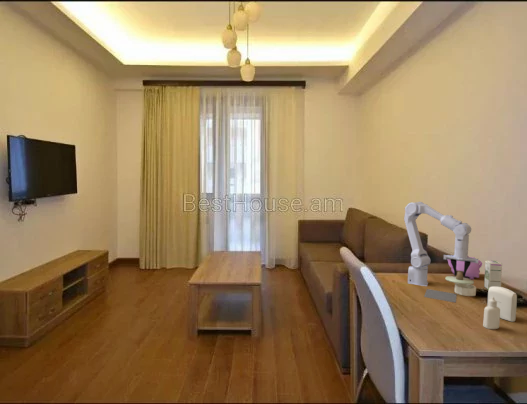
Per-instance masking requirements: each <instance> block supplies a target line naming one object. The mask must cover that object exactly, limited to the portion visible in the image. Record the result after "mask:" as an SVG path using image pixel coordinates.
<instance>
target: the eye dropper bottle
mask: <svg viewBox="0 0 527 404" xmlns="http://www.w3.org/2000/svg"><path fill="white" fill-rule="evenodd" d="M496 305H497V301H496V300H495V299H494V297H492V299H490V300H489V306H487V305H486V306H485V307H484V309H483V310H484V311H483V322H482V327H484V328H485V329H488V330H496V329H497V330H498V329H499V328H500V320H501V318H500V308H498V307H496Z"/></svg>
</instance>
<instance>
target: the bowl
mask: <svg viewBox="0 0 527 404" xmlns="http://www.w3.org/2000/svg"><path fill="white" fill-rule="evenodd" d="M454 294H457V295H459V296H465V297H466V296H467V297H475V296H476V294H477V286H475V285H474V284H459V283H454Z"/></svg>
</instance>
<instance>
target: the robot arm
mask: <svg viewBox="0 0 527 404" xmlns="http://www.w3.org/2000/svg"><path fill="white" fill-rule="evenodd" d="M404 211H405V212H404V217H403V219H404V223H405V224H404V225H405V227H406V232H407V235H408V239H409V243H410V247H411V249H412V251H411V253H410V264H411V265H410V266H408V271H407V284H410V285H416V286H421V287H428V284H429V281H428V274H429V273H428V272H429V271H428V269H429V265H430V264H431V258H430V256H429V255H428V252H427V250H426V249H424V247H423V243H422V240H421V239H422V238H421V235H420V233H419V232H420V231H419V228H418V225H417V221H416V220H417V219H418V217H419V216H421V215H423V214H426V215H428V216H430V217H432V218H434V219H436V220H438V221H440V225H442V226H444V227H445V228H447V229H449V230H450V231H452V232H453V233H454V235H455V236H454V237H455V238H454V253H453V255H452V254H451V255H450V254H443V260H447V259H448V260H451V264H452V266H453V269H454V274H455V275H454V274H453V275H454V276H456V265H457V261H464V262H465V263H464V273H463V278H466V276H465V274H466V271H467V269H468V267H469V266H470V263H471V262H472V263H478V260H479V258H477V257H475V258H470V257H471V256H469V243H470V241H469V240H470V238H469V237H470V234H471V232H472V226H471V225H469V223H467V222H463V221H462V220H458V219H456V218H454V216H453V215H452V214H446V215H445V214H442V213H441V212H440V211H437V210H436V209H434V208H433V207H431V206H429V205H428V204H427V203H424V202H423V201H416V202H412V201H411V202H409V203H408V204H406V206H405V207H404ZM468 256H469V257H468ZM448 260H447V261H448Z"/></svg>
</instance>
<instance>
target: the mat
mask: <svg viewBox="0 0 527 404" xmlns="http://www.w3.org/2000/svg"><path fill="white" fill-rule="evenodd" d="M457 295H458V294H457V293H455V292H454V293H453V292H452V293H451V292H446V291H441V290H435V289H430V288H429V289H428V288H426V290H425V293H424V296H423V297H424V298H427V299H434V300H440V301H445V302H451V303H456V302H457Z"/></svg>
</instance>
